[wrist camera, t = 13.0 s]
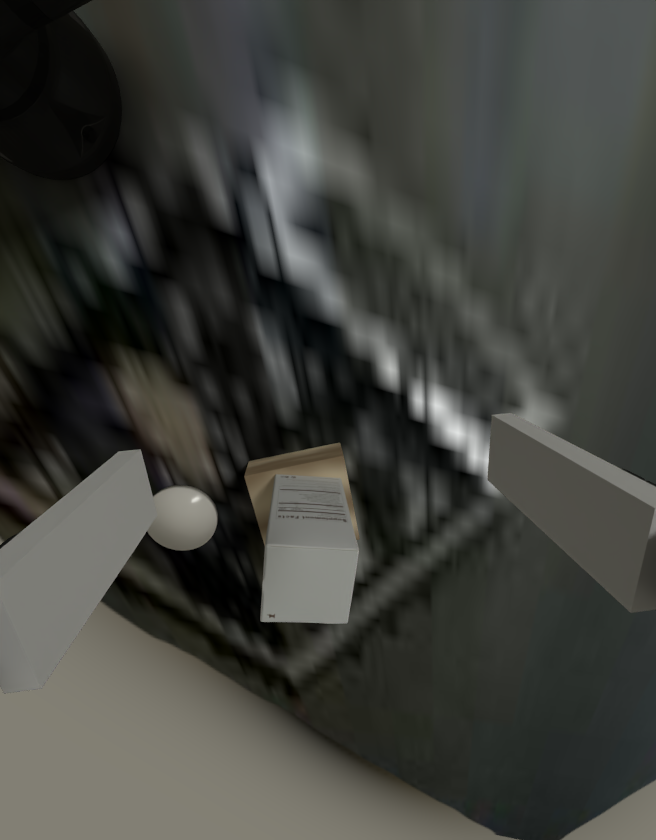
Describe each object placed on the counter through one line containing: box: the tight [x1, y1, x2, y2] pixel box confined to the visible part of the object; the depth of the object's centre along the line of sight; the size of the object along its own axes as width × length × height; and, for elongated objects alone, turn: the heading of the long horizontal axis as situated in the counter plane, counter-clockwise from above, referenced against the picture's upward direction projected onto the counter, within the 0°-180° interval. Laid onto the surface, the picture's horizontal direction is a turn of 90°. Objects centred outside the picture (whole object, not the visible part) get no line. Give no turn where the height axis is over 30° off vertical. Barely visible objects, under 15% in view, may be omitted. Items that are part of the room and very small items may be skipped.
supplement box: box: [260, 474, 359, 624], centre depth 41 cm, size 9×9×15 cm
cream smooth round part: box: [147, 485, 218, 550], centre depth 52 cm, size 10×10×1 cm
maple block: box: [244, 443, 359, 545], centre depth 51 cm, size 13×13×5 cm
